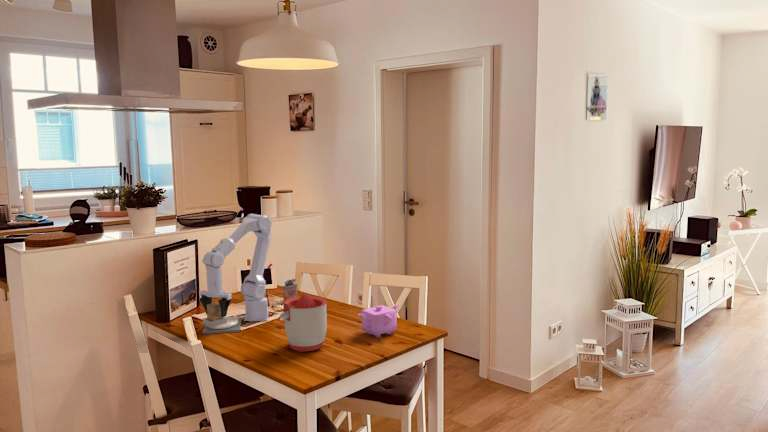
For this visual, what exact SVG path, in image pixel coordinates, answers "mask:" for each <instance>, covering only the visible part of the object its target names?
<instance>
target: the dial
mask: <svg viewBox="0 0 768 432" xmlns="http://www.w3.org/2000/svg"><path fill="white" fill-rule="evenodd" d="M238 319H239V318H237V317H235V316H234V317H233V316H225V317H222V319H220V320H216V321H213V322H212V321H209V320H207V317H205V318H202V325H204V326H205V325H207V327H209V328H212V329H225V328H230V327H234V326H236V325H237V324H238Z"/></svg>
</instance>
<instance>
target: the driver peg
mask: <svg viewBox="0 0 768 432" xmlns="http://www.w3.org/2000/svg"><path fill="white" fill-rule="evenodd" d="M206 318H207V320H209V321H212V322H213V321H216V320H220V319H222V316H221V309H220V305H219V302H211V303H210V304H207V315H206Z"/></svg>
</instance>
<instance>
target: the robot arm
mask: <svg viewBox="0 0 768 432" xmlns="http://www.w3.org/2000/svg"><path fill="white" fill-rule="evenodd" d="M272 224H273V222H272V220H271V219H270V217H269V216H268V215H266V214H257V213H249V214H247V216H246V217H244V218H243V220H242V222H241V223H240V225H239V226H238V227H237V228H236V229H235V231H233V233H232V234H231V235H230V236H229V237H225V238H221V239H220V241H219V243H218V244H217V245H216V246H215V247H212V249H211V250H210V251H207V252H205V254H204V256H203V258H202V260H201V261H202V263H203V264H204V266H205V270H206V274H205V275H206V286H207V287H206V289H207V290H200V291H198V295H199V297H200V298H199V299H198V300H199V302H200V303H201V305H202V306H203V307H202V308H204V312H205V314H206V316H207V304H210V303H213V302H212V301H213V298H215V299H219V300H217V301H218V302H217V303H219V305H220V309H221V316H222V317H227V314H228V310H229V306H230V303H231V302H232V298H233V297H232V293H228V292H226V291H224V290H223V279H222V278H223V276H222V274H223V273H222V266H223V265H224V263H225V260H226V257H228V255H230V254H231V253H232V251H234V249H236V244H237V243H238V242H239V241H241V239H243V238H244V237H245V236H246V235H247V234H248V233H249V232H253V233H254V235H255V236H256V237H257V238H256V242H255V247H254V251H253V252H254V253H253V255H252V260H251V266H250V269H249V274H248V275H247V276H246V277H244V280H243V283H242V284H241V286H240V293H241V294H242V295H243V299H244V306H245V307H244V311H245V313H244V314H245V316H244V319H243V322H244V321H246V320H247V321H249V322H263V321H268V319H269V314H270V313H269V307H268V297H265V295H266V293H267V292H266V290H267V289H266V284H267V282H266V280H265V278H264V273H265V272H264V271H265V267H266V263H267V259H268V252H269V249H270V245H271V240H272V229H271V228H272Z"/></svg>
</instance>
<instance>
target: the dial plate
mask: <svg viewBox="0 0 768 432" xmlns="http://www.w3.org/2000/svg"><path fill="white" fill-rule="evenodd" d="M237 319H238V324H237V325H236V326H234V327H230V328H225V329H212V328H209V327H207V325H205V324H204V326H203V330H202V332H201V334H202V335H211V334H224V333H226V334H227V333H229V334H230V333H239V332H240V330H241V327H240V325H241V326H242V323H243V319H242V318H237ZM241 322H242V323H241Z"/></svg>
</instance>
